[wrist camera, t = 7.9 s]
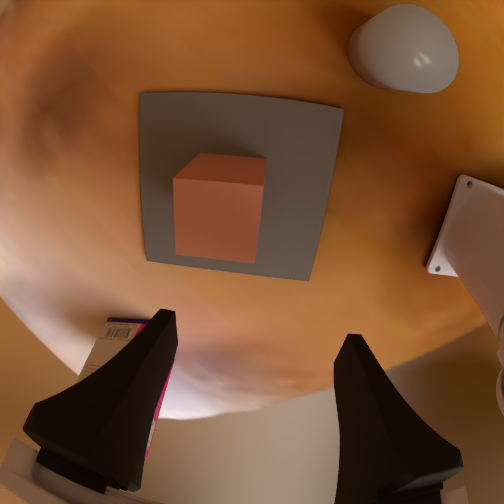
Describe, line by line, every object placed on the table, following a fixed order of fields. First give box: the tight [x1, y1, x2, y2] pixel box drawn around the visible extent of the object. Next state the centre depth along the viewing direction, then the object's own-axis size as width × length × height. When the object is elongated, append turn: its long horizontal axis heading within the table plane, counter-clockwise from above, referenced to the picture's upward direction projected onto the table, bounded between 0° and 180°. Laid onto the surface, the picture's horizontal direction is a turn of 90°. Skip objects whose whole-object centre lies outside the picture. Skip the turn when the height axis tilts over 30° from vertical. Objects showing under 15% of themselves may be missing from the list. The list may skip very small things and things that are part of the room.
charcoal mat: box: [139, 92, 344, 281], centre depth 18 cm, size 12×12×1 cm
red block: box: [173, 153, 267, 264], centre depth 16 cm, size 4×4×5 cm
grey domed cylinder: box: [348, 3, 459, 93], centre depth 11 cm, size 4×4×5 cm
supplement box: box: [75, 318, 175, 458], centre depth 22 cm, size 6×6×12 cm
